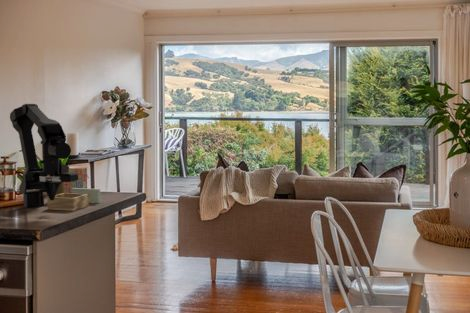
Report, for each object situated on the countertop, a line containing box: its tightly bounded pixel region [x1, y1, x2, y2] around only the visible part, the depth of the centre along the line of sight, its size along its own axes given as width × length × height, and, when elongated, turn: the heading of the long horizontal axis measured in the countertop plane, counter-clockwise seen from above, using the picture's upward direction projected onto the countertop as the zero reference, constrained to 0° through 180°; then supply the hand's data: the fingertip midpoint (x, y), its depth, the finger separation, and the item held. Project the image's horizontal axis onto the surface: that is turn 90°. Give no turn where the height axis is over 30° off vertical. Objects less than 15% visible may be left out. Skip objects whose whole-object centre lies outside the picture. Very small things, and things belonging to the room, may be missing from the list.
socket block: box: [46, 193, 90, 211], centre depth 215 cm, size 11×11×4 cm
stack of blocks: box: [42, 165, 88, 196], centre depth 254 cm, size 21×6×12 cm, turn 85°
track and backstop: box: [71, 187, 101, 204], centre depth 219 cm, size 19×12×6 cm, turn 164°
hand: (52, 200), depth 205 cm, fingers closed
